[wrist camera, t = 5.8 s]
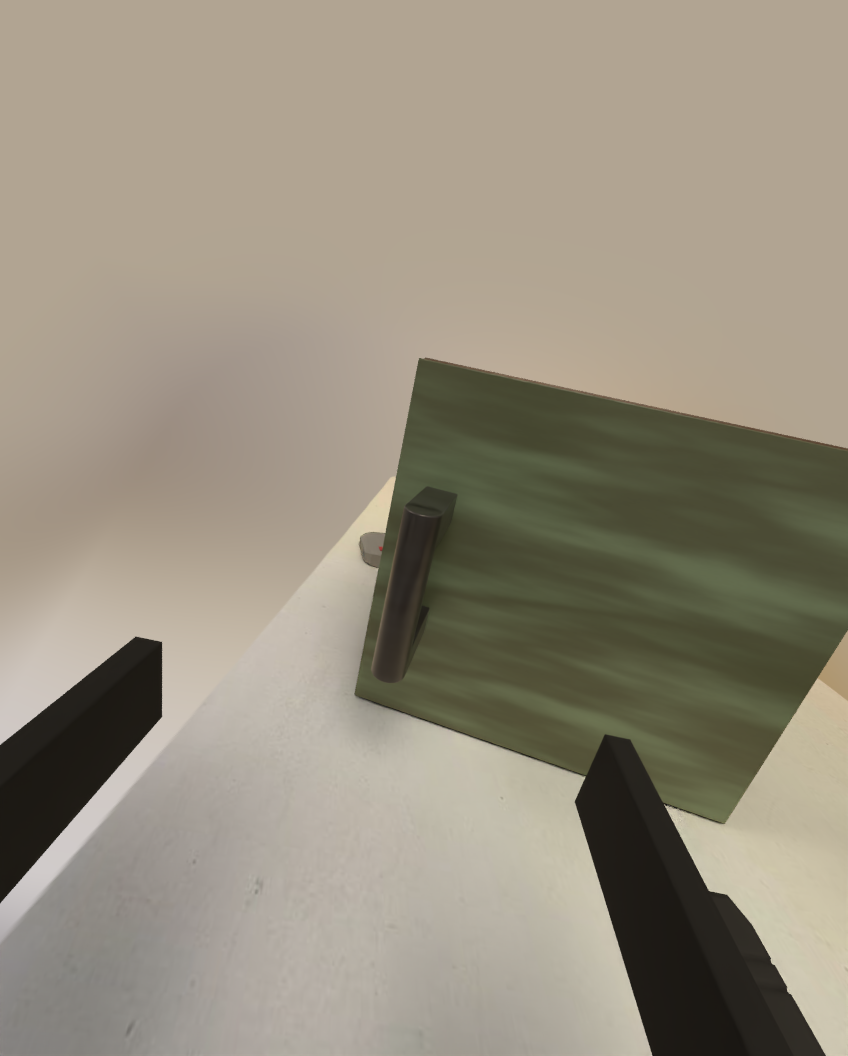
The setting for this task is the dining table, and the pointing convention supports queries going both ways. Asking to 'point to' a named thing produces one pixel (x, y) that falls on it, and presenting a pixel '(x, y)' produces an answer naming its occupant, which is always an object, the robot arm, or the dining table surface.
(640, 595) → the cupboard door
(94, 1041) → the dining table surface
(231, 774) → the dining table surface
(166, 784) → the dining table surface
